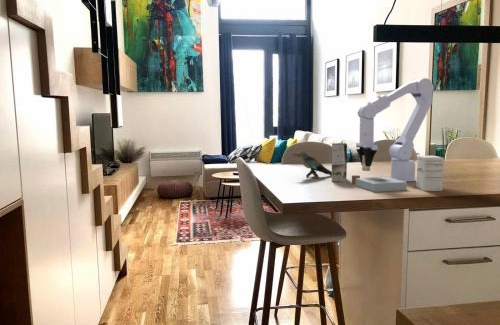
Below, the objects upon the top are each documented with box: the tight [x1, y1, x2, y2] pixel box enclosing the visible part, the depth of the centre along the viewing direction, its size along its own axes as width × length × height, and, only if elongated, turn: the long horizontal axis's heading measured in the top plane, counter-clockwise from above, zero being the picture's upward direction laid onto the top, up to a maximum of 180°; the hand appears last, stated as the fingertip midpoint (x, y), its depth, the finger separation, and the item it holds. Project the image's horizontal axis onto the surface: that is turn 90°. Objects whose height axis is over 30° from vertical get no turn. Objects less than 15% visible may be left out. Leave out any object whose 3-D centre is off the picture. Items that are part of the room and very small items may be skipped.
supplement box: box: [415, 155, 445, 192], centre depth 160 cm, size 7×7×13 cm
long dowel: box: [361, 155, 371, 172], centre depth 178 cm, size 3×3×6 cm
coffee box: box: [331, 142, 348, 183], centre depth 183 cm, size 9×6×16 cm
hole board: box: [354, 176, 408, 193], centre depth 164 cm, size 14×14×3 cm
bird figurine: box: [292, 150, 332, 180], centre depth 192 cm, size 13×10×20 cm
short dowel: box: [351, 174, 361, 185], centre depth 173 cm, size 3×3×4 cm
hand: (366, 165), depth 179 cm, fingers closed on long dowel, 3 cm apart
